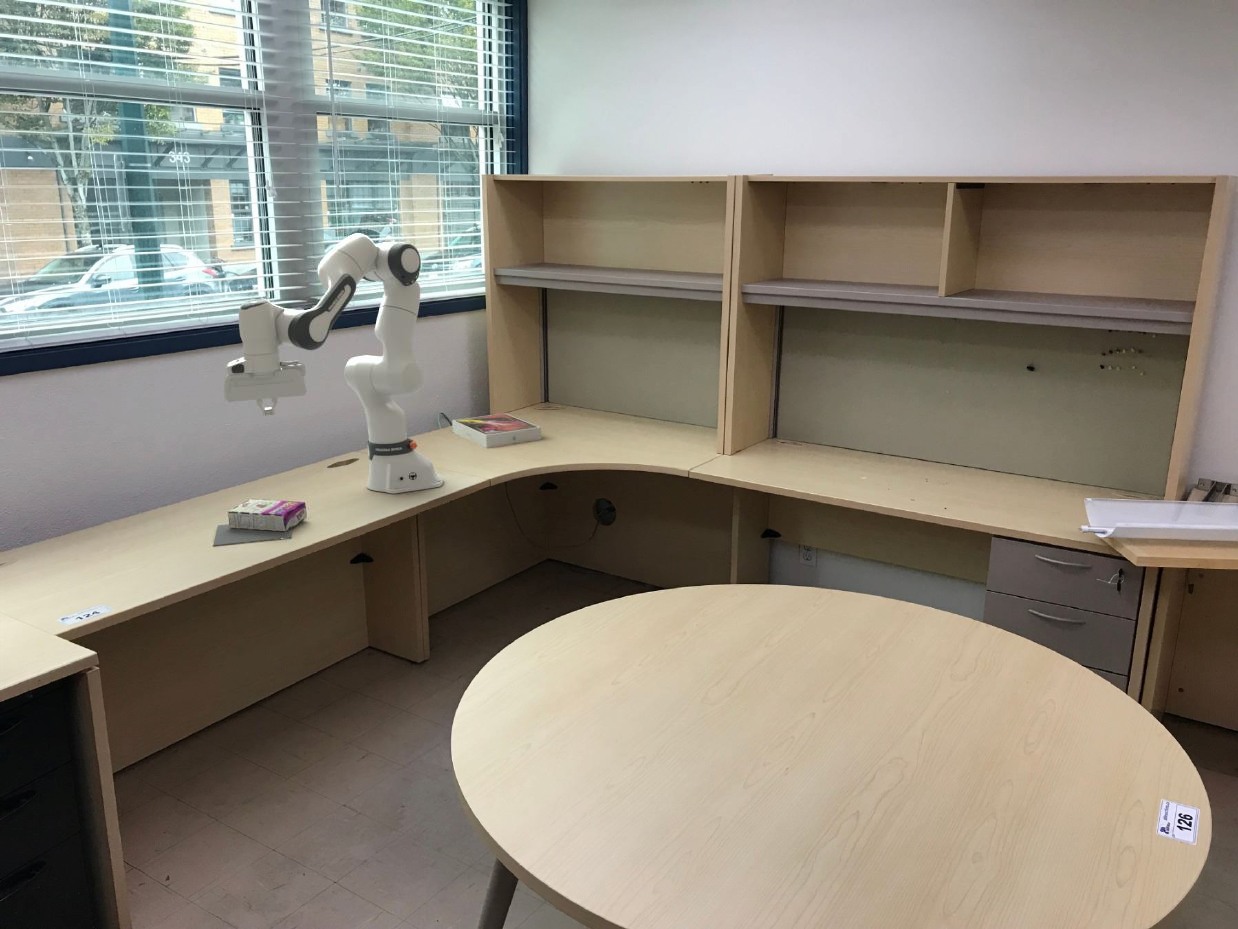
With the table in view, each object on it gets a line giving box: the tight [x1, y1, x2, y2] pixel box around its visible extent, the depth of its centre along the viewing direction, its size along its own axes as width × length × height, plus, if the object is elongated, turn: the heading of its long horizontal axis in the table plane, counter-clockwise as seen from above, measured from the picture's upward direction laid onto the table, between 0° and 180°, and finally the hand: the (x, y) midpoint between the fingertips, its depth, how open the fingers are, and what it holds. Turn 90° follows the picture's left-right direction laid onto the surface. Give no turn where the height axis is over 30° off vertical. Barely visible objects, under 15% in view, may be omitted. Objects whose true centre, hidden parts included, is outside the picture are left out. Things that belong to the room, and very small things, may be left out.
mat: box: [212, 523, 292, 547], centre depth 252 cm, size 18×16×1 cm
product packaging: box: [451, 412, 542, 449], centre depth 352 cm, size 22×28×5 cm
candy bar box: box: [227, 498, 308, 532], centre depth 257 cm, size 11×5×16 cm
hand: (268, 415), depth 255 cm, fingers closed
